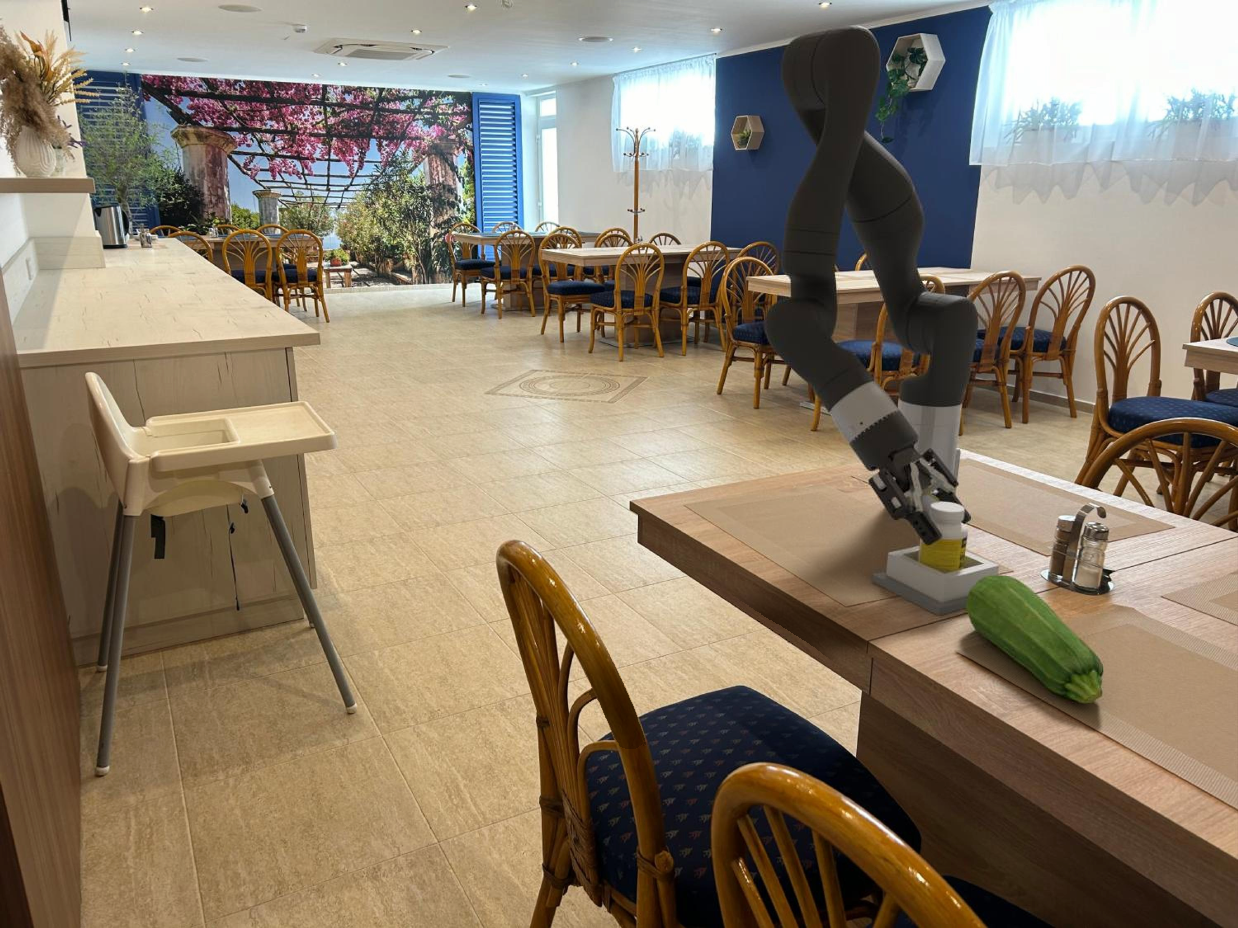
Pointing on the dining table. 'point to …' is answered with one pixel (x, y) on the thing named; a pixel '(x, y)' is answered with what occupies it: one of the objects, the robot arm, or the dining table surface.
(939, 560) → the supplement bottle
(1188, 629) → the dining table surface
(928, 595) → the board
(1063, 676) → the vegetable
